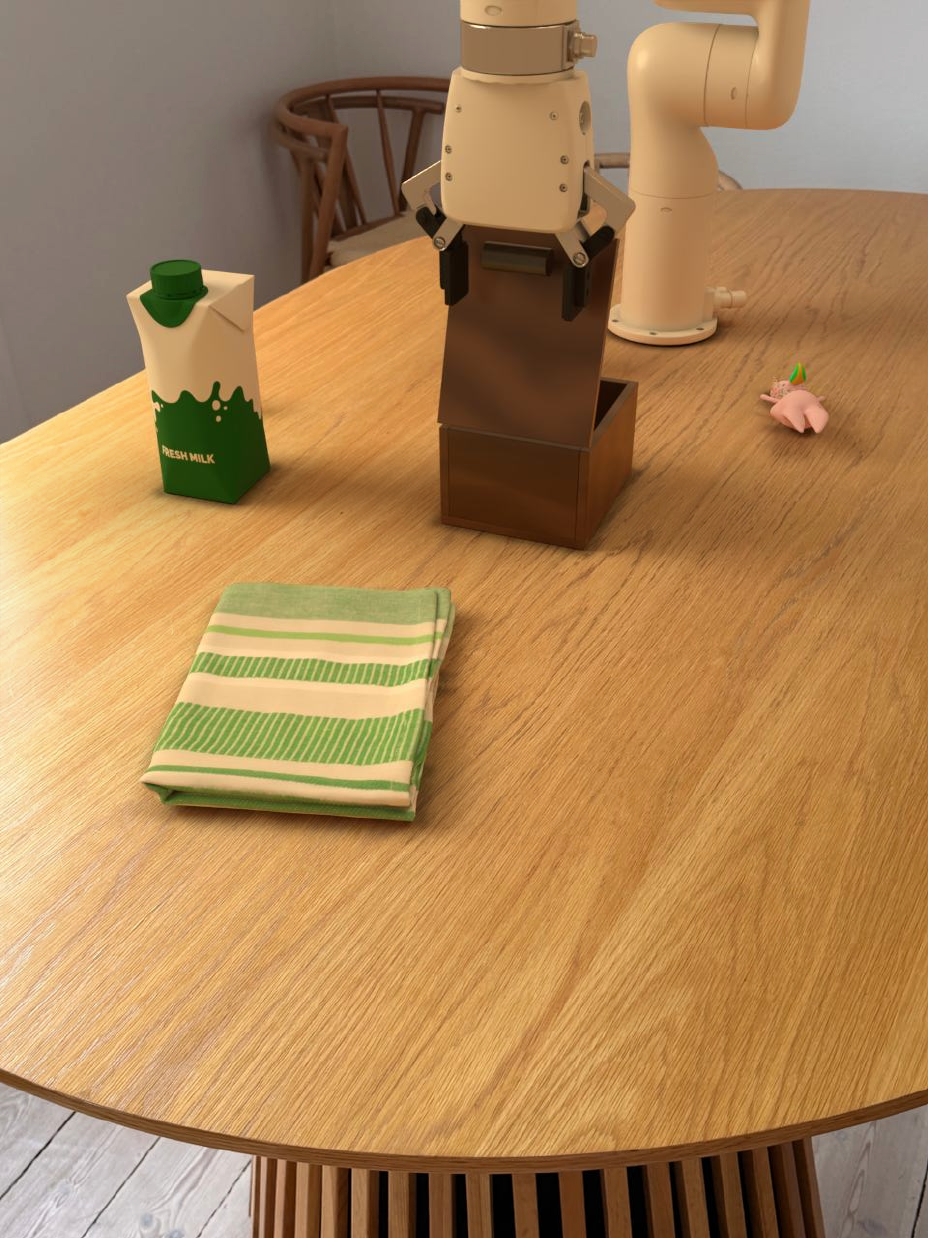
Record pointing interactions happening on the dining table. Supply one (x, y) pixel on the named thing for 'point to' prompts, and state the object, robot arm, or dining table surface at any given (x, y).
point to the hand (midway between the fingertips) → (513, 306)
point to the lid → (525, 340)
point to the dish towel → (307, 702)
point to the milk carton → (202, 379)
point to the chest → (539, 475)
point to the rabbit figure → (796, 403)
